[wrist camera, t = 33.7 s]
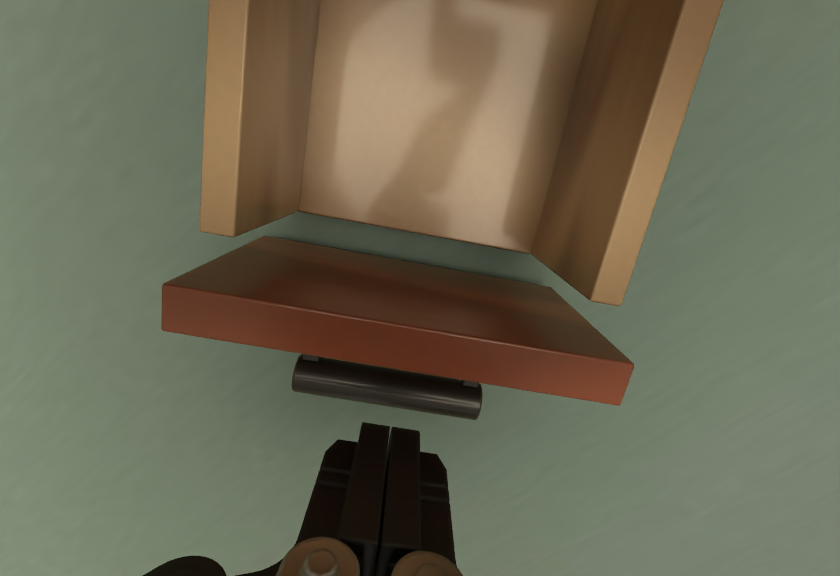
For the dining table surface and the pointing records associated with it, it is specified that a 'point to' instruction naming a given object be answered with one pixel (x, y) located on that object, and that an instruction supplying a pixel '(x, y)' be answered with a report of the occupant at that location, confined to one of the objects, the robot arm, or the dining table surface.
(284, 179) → the drawer
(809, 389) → the dining table surface
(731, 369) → the dining table surface
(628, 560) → the dining table surface
